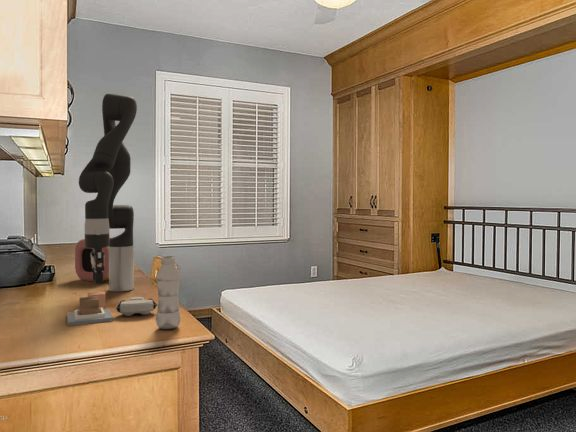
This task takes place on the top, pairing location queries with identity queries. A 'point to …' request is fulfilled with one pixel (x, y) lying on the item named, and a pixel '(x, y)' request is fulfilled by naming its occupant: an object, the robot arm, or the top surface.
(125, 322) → the top surface
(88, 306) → the walnut cube
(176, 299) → the plastic bottle
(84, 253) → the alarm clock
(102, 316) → the baseplate
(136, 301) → the robot toy
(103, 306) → the terracotta cube
